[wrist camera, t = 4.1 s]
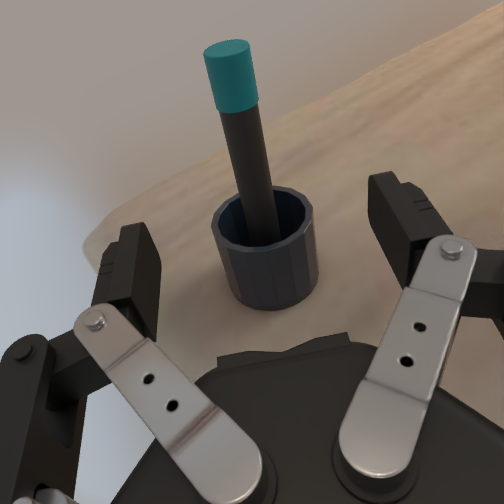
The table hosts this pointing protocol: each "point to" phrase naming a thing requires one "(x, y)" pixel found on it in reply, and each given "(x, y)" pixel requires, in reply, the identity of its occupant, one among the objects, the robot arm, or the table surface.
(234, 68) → the marker
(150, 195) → the table surface
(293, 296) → the pen cup
